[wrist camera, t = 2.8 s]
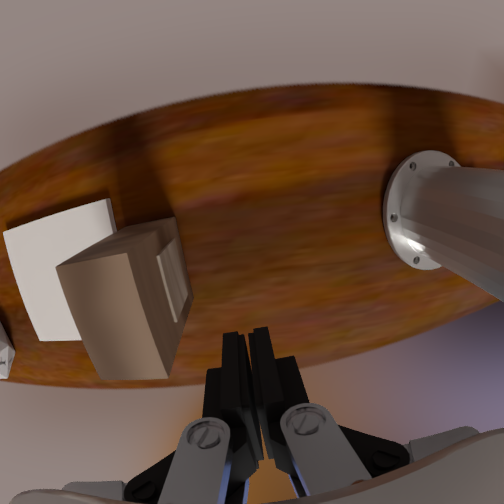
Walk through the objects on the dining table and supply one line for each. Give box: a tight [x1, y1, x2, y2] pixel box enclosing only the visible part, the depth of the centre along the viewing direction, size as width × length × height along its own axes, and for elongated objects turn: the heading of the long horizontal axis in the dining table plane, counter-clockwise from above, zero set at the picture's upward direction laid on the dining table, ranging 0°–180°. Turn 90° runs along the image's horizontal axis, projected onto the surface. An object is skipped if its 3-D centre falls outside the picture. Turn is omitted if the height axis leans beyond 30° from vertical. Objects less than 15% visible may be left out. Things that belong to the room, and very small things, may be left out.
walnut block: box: [55, 217, 194, 380], centre depth 20 cm, size 5×8×12 cm, turn 9°
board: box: [3, 198, 117, 341], centre depth 26 cm, size 16×14×1 cm
